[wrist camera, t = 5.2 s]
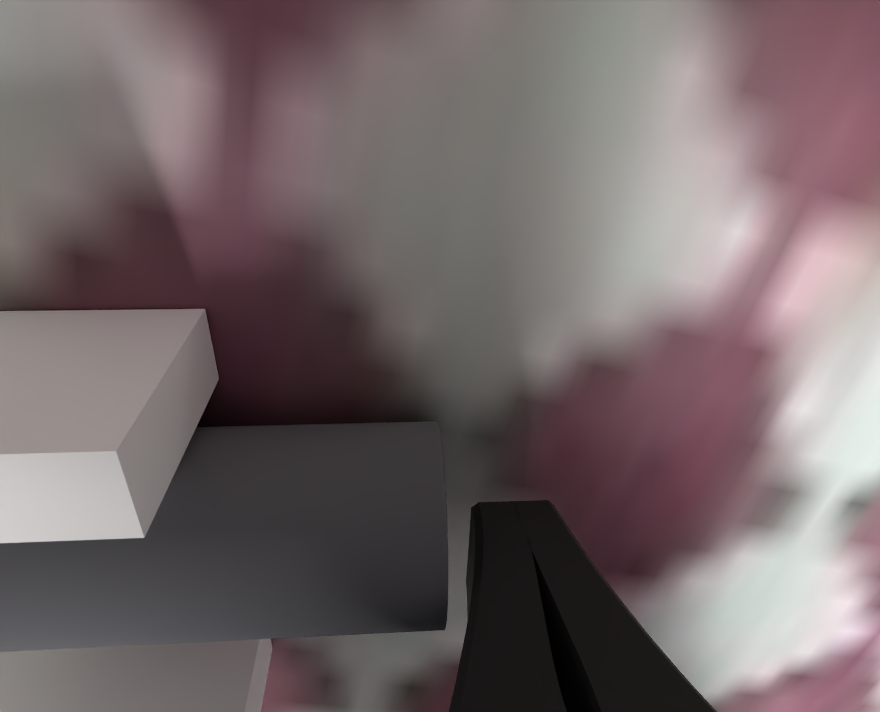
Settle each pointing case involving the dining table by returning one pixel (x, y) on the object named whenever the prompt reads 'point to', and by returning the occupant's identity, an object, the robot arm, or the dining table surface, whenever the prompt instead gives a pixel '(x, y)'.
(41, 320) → the duct
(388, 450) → the dark grey cylinder
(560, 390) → the dining table surface
